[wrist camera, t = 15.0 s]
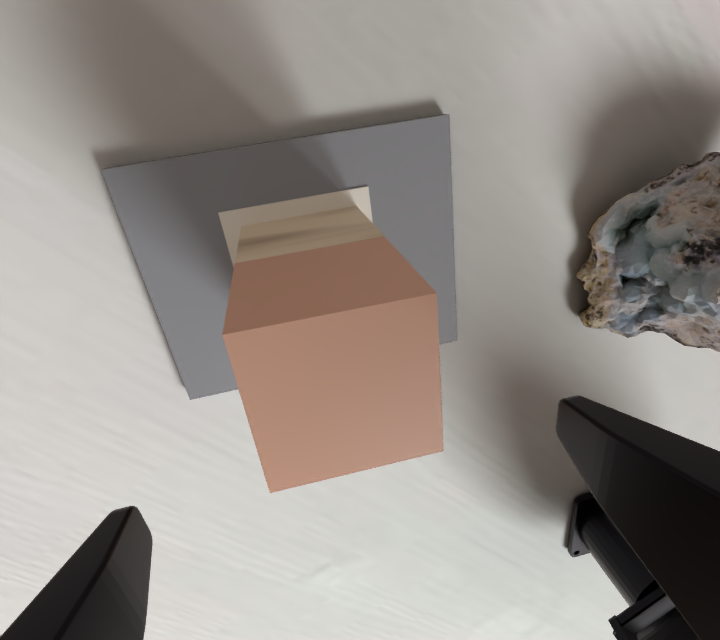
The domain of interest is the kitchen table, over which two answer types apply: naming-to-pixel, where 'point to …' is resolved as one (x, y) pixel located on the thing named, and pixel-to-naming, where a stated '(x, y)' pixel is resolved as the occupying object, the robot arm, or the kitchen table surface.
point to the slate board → (273, 202)
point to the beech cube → (304, 233)
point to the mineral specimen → (660, 259)
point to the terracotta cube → (335, 360)
